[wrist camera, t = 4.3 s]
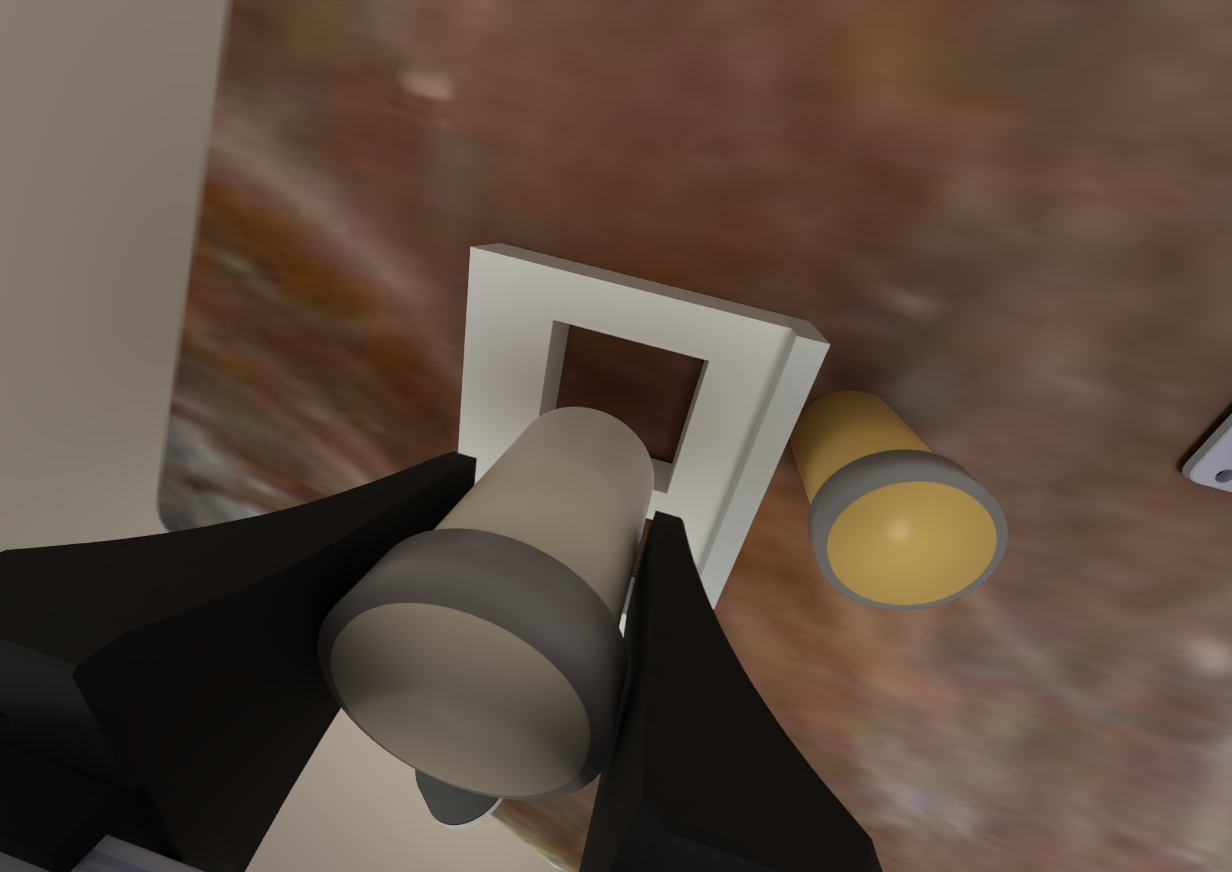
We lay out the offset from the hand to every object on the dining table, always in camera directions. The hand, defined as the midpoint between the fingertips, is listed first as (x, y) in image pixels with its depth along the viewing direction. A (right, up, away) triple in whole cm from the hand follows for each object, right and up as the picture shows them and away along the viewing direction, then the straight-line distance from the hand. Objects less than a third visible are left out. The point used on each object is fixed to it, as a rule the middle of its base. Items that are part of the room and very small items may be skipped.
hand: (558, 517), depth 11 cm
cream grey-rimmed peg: (0, +1, +2) cm, 2 cm away
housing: (+1, +1, +10) cm, 10 cm away
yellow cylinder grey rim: (+10, +2, +7) cm, 13 cm away
